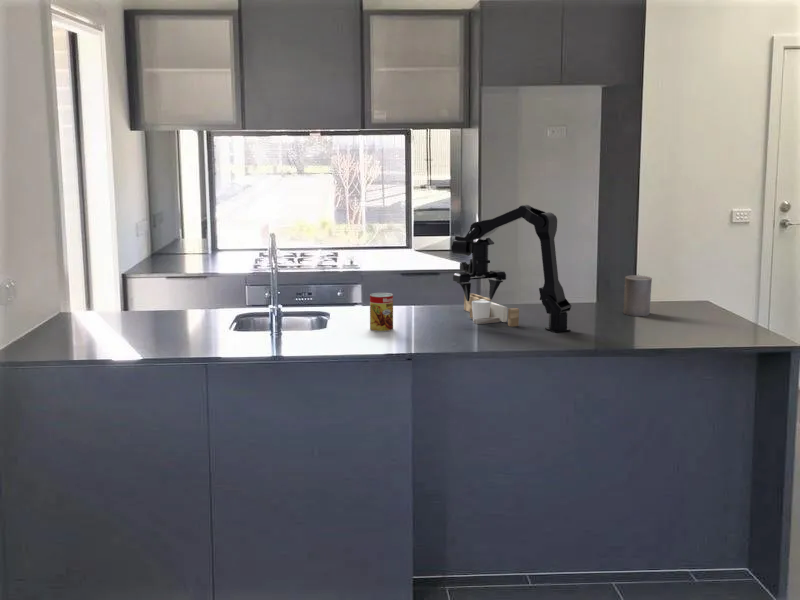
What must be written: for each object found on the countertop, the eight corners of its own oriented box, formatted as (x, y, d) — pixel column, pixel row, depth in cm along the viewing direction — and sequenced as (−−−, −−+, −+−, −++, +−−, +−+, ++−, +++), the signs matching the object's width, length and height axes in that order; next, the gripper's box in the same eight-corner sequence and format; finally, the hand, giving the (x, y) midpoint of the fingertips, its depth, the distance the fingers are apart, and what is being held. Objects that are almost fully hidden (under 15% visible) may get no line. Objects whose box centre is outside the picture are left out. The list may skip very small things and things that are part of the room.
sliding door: (506, 321, 333) (507, 307, 332) (484, 323, 330) (484, 309, 329) (482, 312, 349) (482, 298, 348) (460, 314, 346) (460, 300, 345)
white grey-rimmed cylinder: (491, 322, 333) (491, 303, 332) (471, 322, 333) (471, 303, 332) (490, 319, 340) (490, 299, 338) (471, 318, 340) (471, 299, 339)
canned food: (390, 331, 318) (390, 296, 316) (367, 330, 319) (367, 296, 317) (395, 327, 325) (395, 292, 323) (372, 326, 327) (372, 292, 325)
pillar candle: (617, 312, 352) (619, 272, 349) (638, 310, 356) (640, 271, 353) (634, 317, 343) (636, 276, 340) (655, 315, 347) (657, 274, 344)
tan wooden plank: (519, 325, 328) (520, 308, 327) (488, 328, 323) (488, 311, 322) (473, 309, 358) (473, 293, 357) (443, 311, 353) (443, 295, 352)
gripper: (492, 252, 345) (491, 294, 347) (446, 255, 337) (445, 298, 340) (507, 256, 335) (506, 299, 337) (460, 259, 327) (460, 303, 330)
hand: (479, 300), depth 336 cm, fingers open, 9 cm apart
